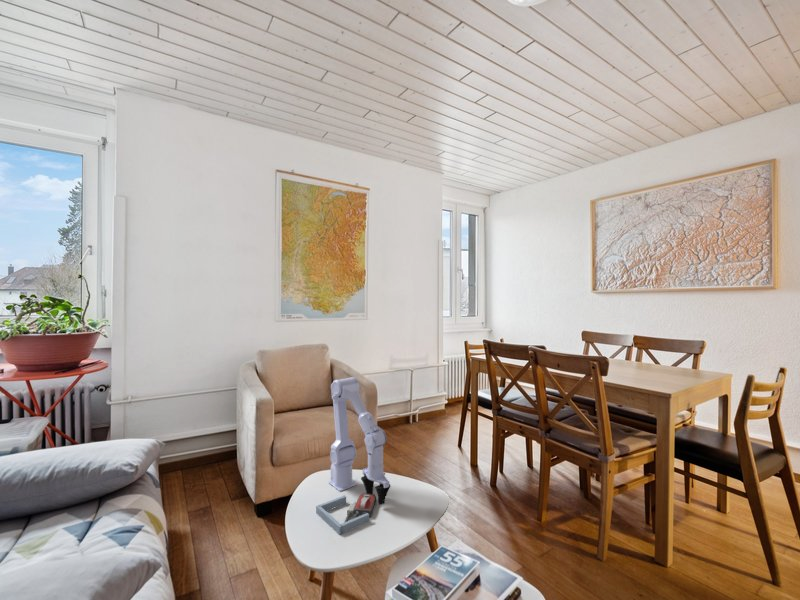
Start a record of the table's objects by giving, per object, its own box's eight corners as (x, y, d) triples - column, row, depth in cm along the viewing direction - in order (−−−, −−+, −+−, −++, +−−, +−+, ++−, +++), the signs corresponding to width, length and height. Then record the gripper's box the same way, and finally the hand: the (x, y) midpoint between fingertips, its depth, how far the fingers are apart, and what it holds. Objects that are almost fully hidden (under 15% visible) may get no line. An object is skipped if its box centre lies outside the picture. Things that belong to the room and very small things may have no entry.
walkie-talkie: (355, 499, 146) (340, 530, 126) (355, 487, 146) (340, 517, 126) (377, 500, 145) (366, 532, 125) (377, 489, 145) (366, 519, 125)
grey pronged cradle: (316, 513, 136) (316, 506, 136) (344, 502, 143) (344, 495, 143) (339, 534, 123) (339, 527, 123) (369, 521, 130) (369, 514, 130)
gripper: (395, 466, 139) (396, 504, 139) (373, 454, 150) (373, 488, 150) (380, 472, 135) (380, 510, 135) (358, 459, 146) (358, 494, 146)
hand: (375, 499), depth 142 cm, fingers open, 7 cm apart
